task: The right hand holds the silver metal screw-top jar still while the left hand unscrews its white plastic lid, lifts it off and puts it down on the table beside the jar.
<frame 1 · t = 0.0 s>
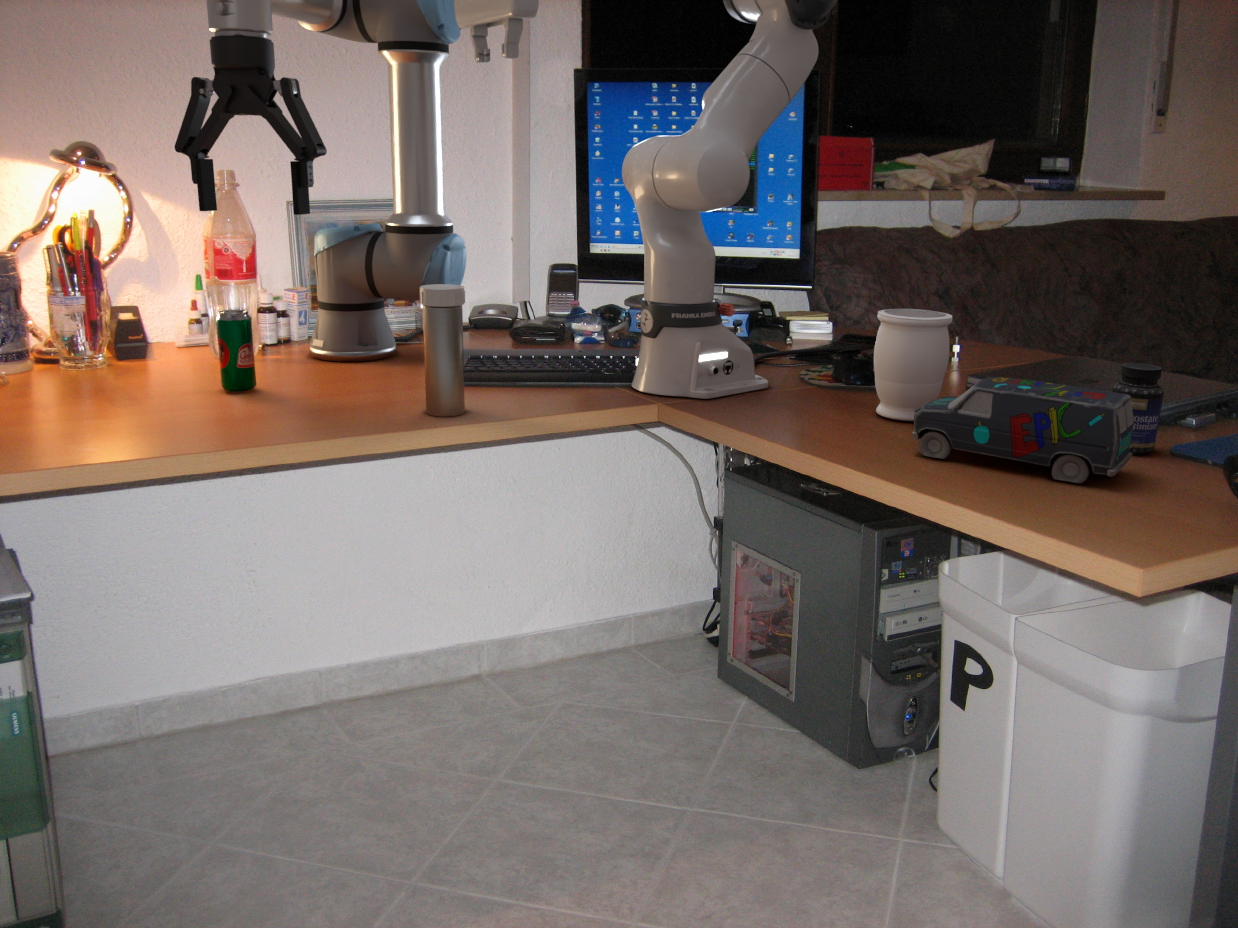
left hand: (254, 213, 138), 28 cm above the table, tool pointing down, fingers open, 13 cm apart
right hand: (495, 60, 144), 48 cm above the table, tool pointing down, fingers open, 8 cm apart
lid: (442, 289, 149), point 18 cm above the table, screwed on, not yet turned
soda can: (239, 390, 165), on the table
toy van: (1016, 463, 134), on the table
screw-top jar: (445, 412, 154), on the table
jar: (904, 416, 156), on the table
pill bottle: (1128, 449, 141), on the table
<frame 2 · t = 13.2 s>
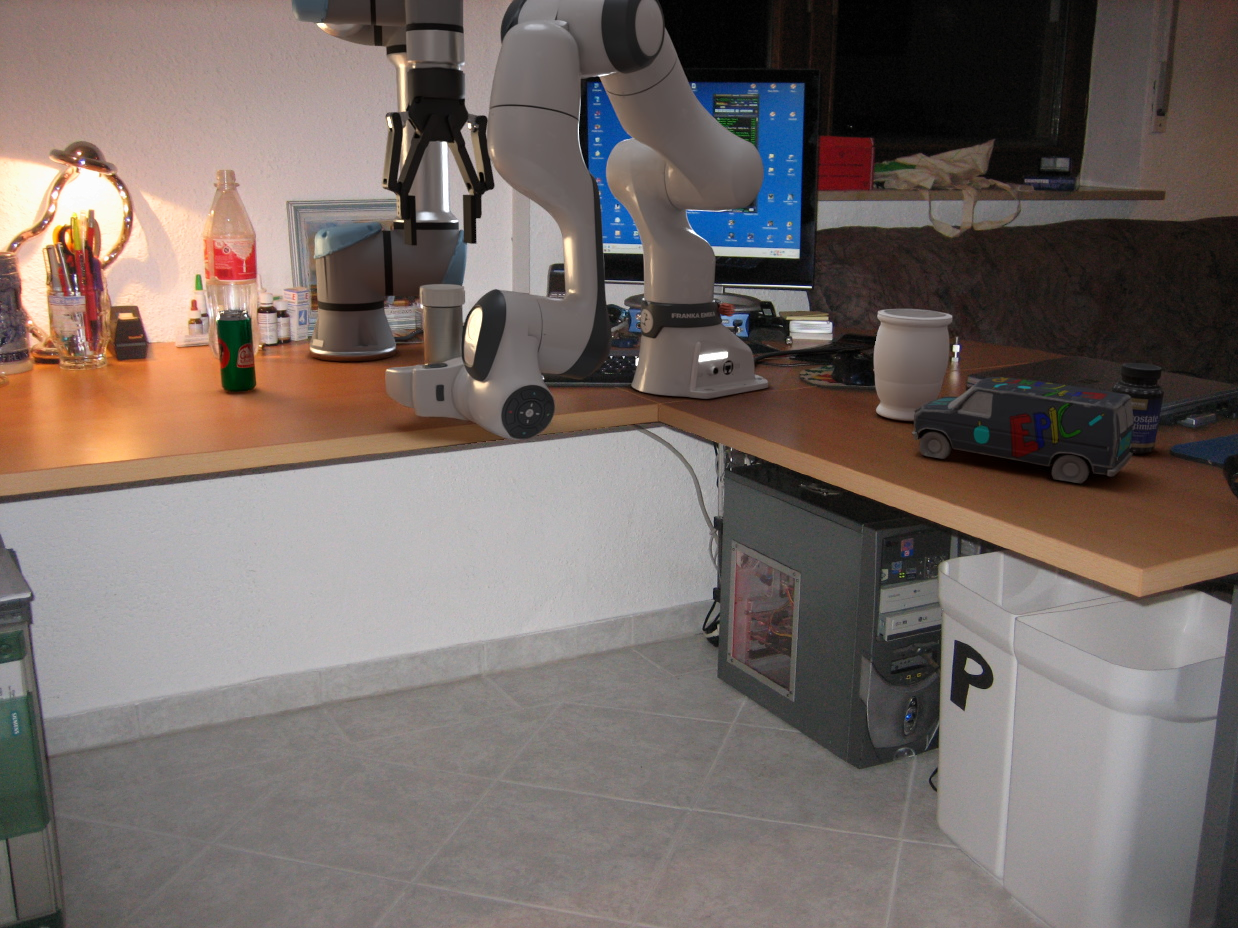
left hand: (440, 243, 147), 24 cm above the table, tool pointing down, fingers open, 8 cm apart
right hand: (441, 368, 153), 6 cm above the table, tool horizontal, fingers closed on screw-top jar, 5 cm apart
screw-top jar: (445, 412, 154), on the table, touching right hand
everything else where it was.
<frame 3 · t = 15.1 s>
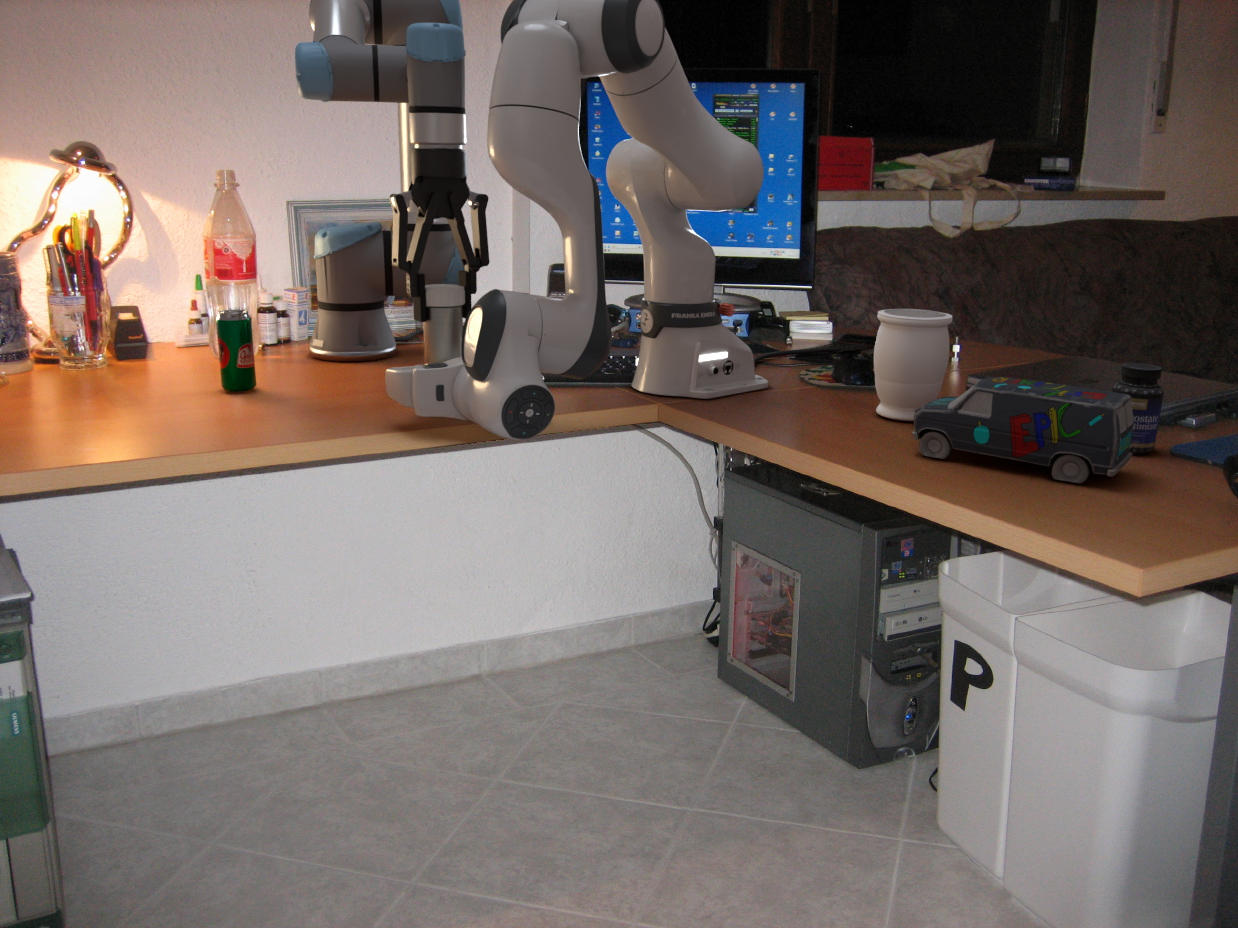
left hand: (443, 318, 150), 13 cm above the table, tool pointing down, fingers closed on lid, 6 cm apart
right hand: (441, 368, 153), 6 cm above the table, tool horizontal, fingers closed on screw-top jar, 5 cm apart
lid: (442, 289, 149), point 18 cm above the table, screwed on, not yet turned, touching left hand
screw-top jar: (445, 412, 154), on the table, touching right hand
everything else where it was.
when the left hand's fingers open (14 cm above the table, at t = 16.5 s): lid stays where it is, point 18 cm above the table.
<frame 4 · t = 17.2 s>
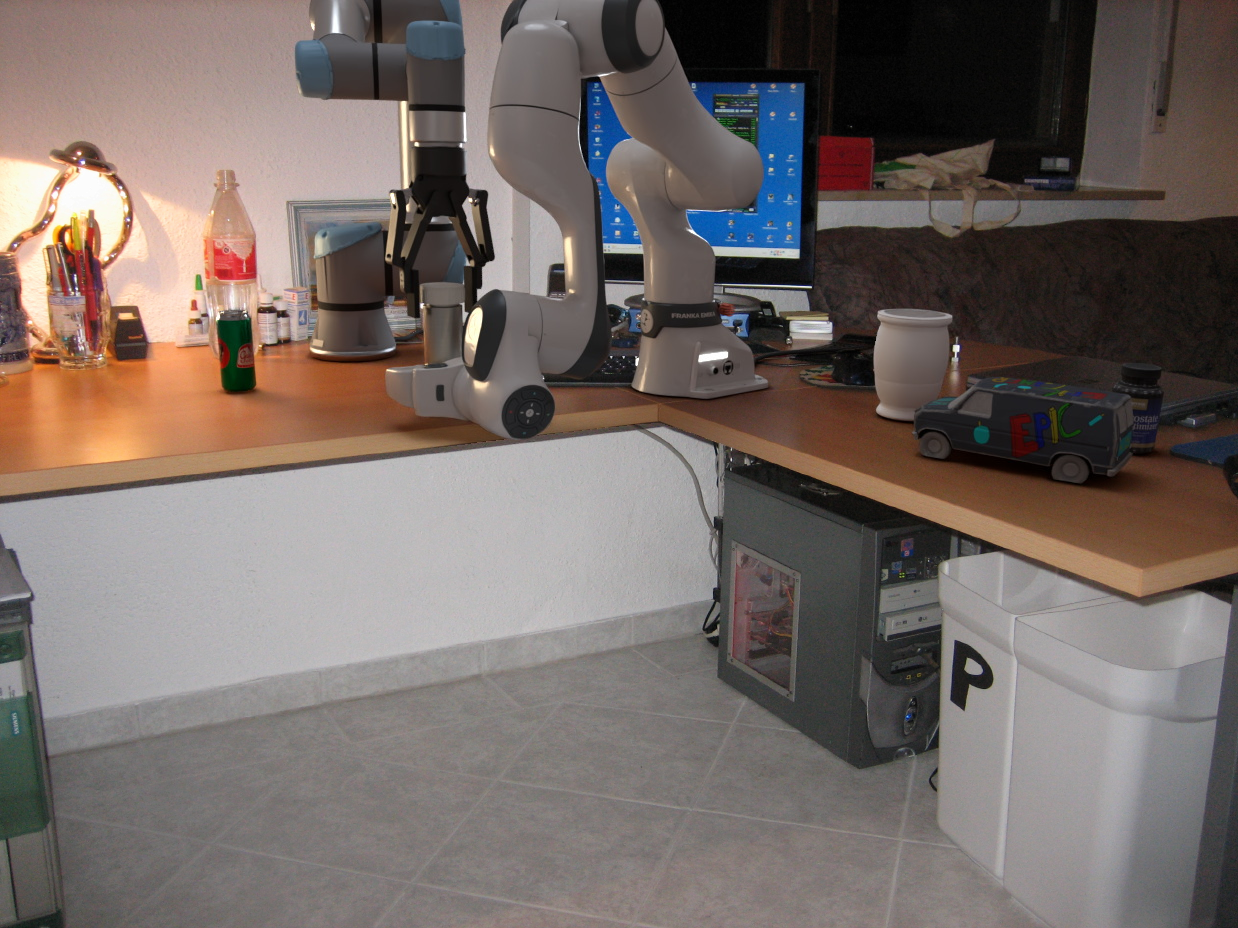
left hand: (442, 314, 150), 14 cm above the table, tool pointing down, fingers open, 8 cm apart
right hand: (441, 368, 153), 6 cm above the table, tool horizontal, fingers closed on screw-top jar, 5 cm apart
lid: (442, 287, 149), point 18 cm above the table, turned 78° so far, risen 0.3 cm, still on its thread
screw-top jar: (445, 412, 154), on the table, touching right hand
everything else where it was.
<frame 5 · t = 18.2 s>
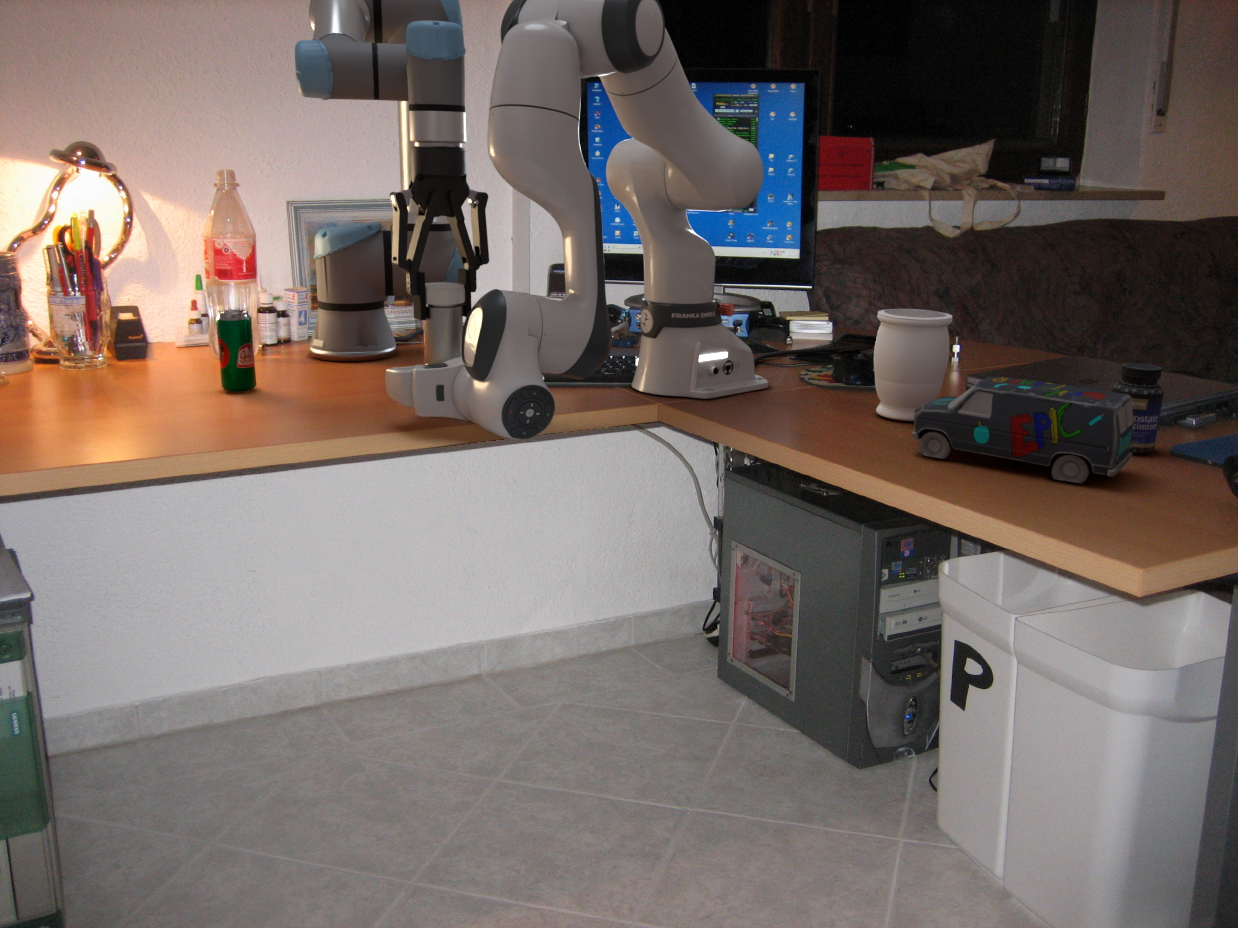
left hand: (442, 317, 150), 14 cm above the table, tool pointing down, fingers closed on lid, 6 cm apart
right hand: (441, 368, 153), 6 cm above the table, tool horizontal, fingers closed on screw-top jar, 5 cm apart
lid: (442, 287, 149), point 18 cm above the table, turned 78° so far, risen 0.3 cm, still on its thread, touching left hand
screw-top jar: (445, 412, 154), on the table, touching right hand
everything else where it was.
when the left hand's fingers open (0 cm above the table, at t = 24.2 s): lid stays where it is, point 2 cm above the table.
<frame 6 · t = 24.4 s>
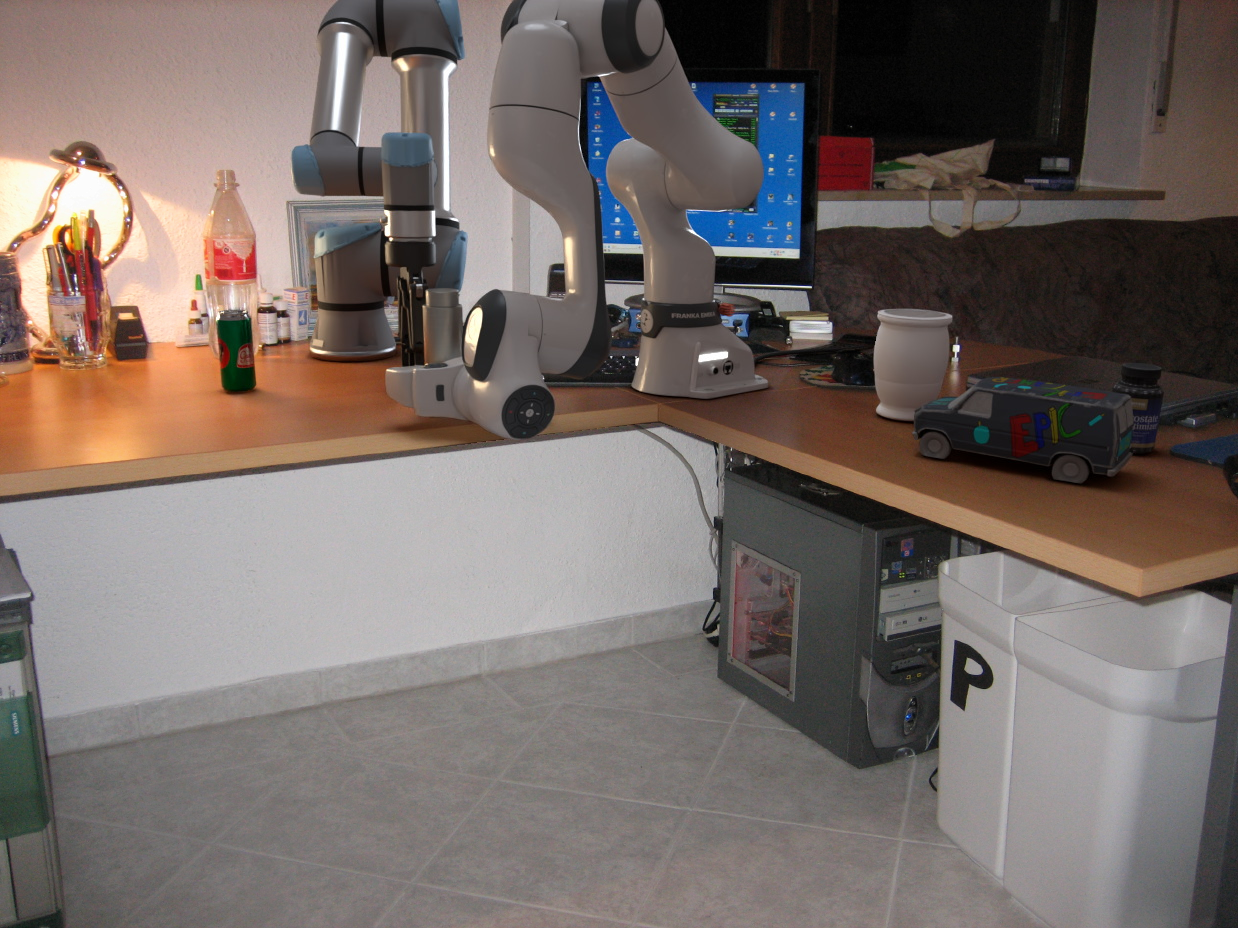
left hand: (415, 389, 167), 0 cm above the table, tool pointing down, fingers open, 7 cm apart
right hand: (441, 368, 153), 6 cm above the table, tool horizontal, fingers closed on screw-top jar, 5 cm apart
lid: (414, 377, 167), point 2 cm above the table, off its thread
screw-top jar: (445, 412, 154), on the table, touching right hand
everything else where it was.
when the right hand's fingers open (6 cm above the table, at t = 25.5 s): screw-top jar stays where it is, on the table.
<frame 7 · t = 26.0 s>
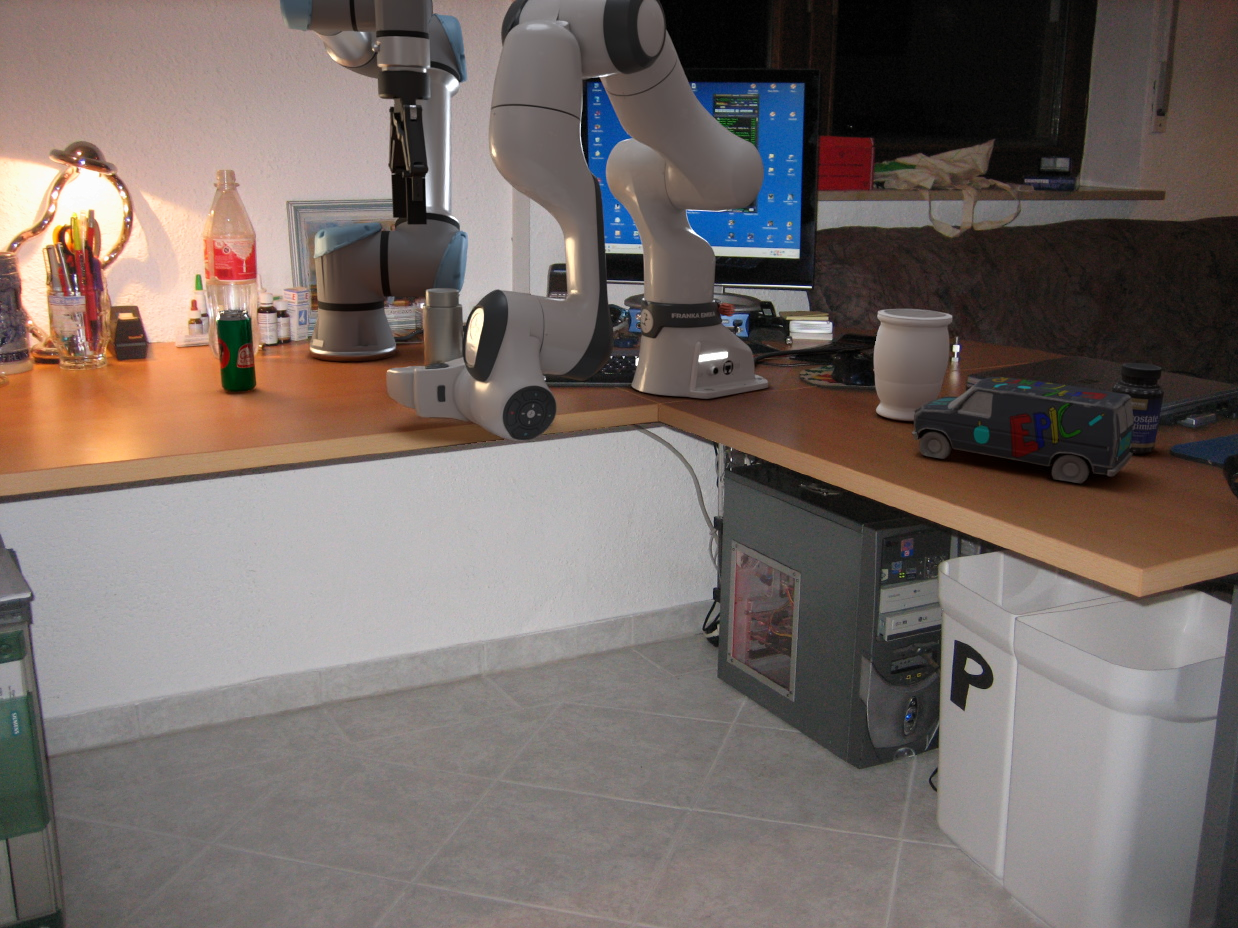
left hand: (409, 221, 161), 26 cm above the table, tool pointing down, fingers open, 13 cm apart
right hand: (443, 369, 152), 6 cm above the table, tool horizontal, fingers open, 8 cm apart
screw-top jar: (445, 412, 154), on the table
everything else where it was.
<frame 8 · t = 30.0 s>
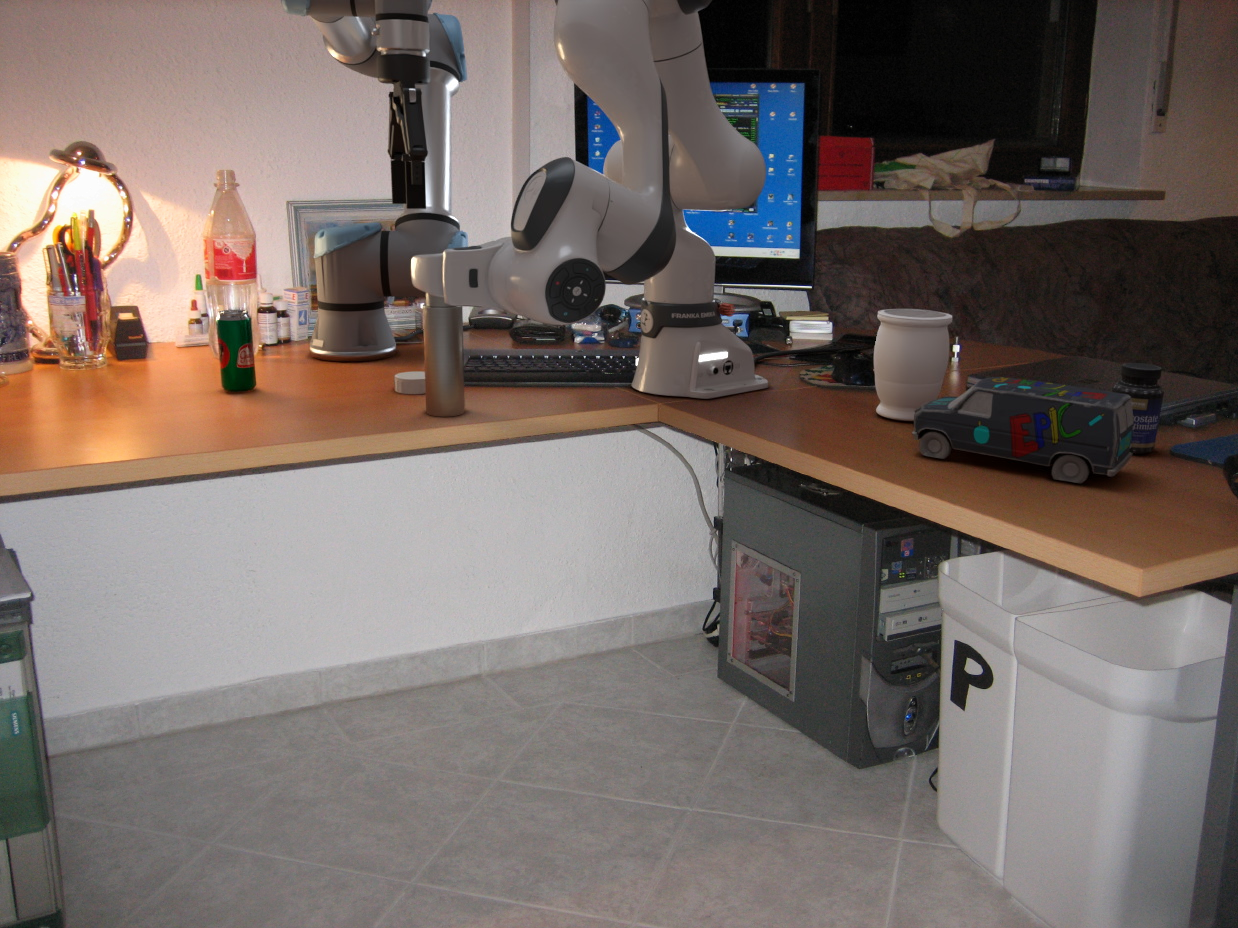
left hand: (408, 206, 160), 28 cm above the table, tool pointing down, fingers open, 13 cm apart
right hand: (471, 264, 138), 22 cm above the table, tool horizontal, fingers open, 8 cm apart
nothing on the table moved.
at the end: lid came off its thread; lid point 2.0 cm above the table; the left hand is holding nothing; the right hand is holding nothing; screw-top jar tilted 0°; screw-top jar moved 0.0 cm from its start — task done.
